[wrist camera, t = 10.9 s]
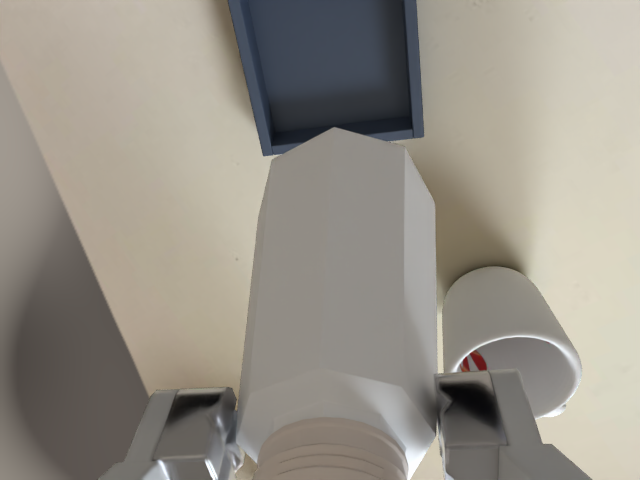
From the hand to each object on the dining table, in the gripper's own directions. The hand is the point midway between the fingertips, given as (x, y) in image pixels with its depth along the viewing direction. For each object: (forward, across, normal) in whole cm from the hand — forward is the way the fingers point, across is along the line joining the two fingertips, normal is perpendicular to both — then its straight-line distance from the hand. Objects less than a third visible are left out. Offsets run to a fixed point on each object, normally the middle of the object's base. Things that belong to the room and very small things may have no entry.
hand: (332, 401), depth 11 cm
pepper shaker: (+8, 0, 0) cm, 8 cm away
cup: (+25, -8, +19) cm, 32 cm away
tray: (+24, +1, 0) cm, 25 cm away
